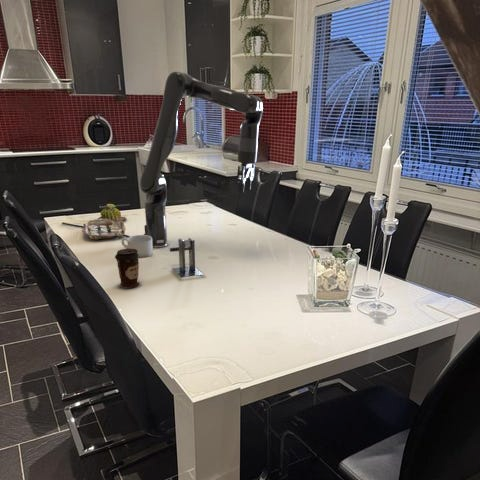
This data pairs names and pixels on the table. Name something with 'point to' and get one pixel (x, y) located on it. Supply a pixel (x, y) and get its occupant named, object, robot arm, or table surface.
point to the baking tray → (103, 229)
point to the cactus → (111, 213)
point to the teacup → (139, 244)
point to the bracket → (190, 269)
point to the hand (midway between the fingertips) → (244, 191)
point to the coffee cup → (128, 267)
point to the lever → (186, 245)
